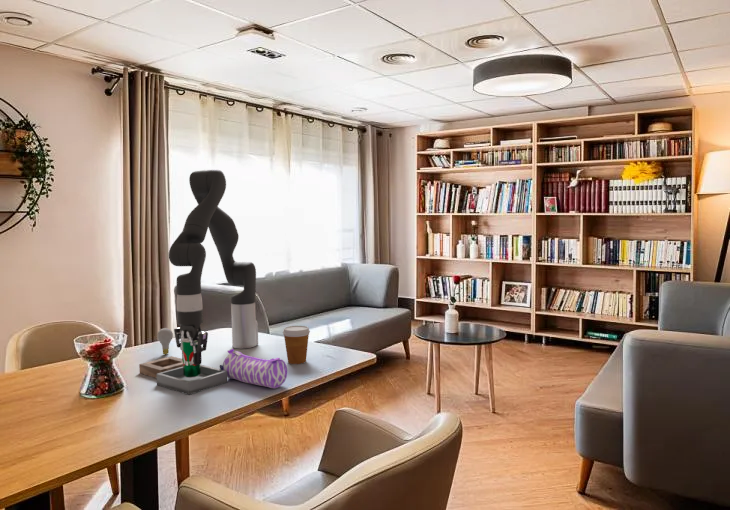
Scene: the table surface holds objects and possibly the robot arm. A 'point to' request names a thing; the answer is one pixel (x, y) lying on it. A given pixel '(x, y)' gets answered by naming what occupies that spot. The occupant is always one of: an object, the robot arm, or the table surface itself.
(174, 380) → the tray
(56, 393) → the table surface
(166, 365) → the square wooden frame
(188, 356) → the soda can
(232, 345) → the robot arm
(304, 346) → the disposable coffee cup
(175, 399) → the table surface
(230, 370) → the pencil case
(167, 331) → the light bulb
